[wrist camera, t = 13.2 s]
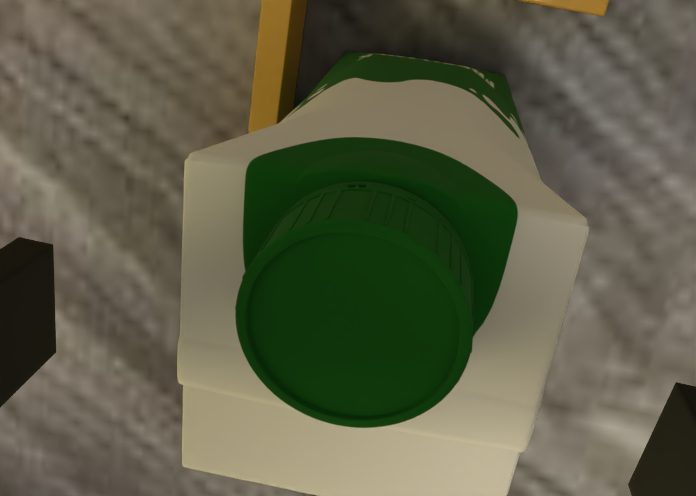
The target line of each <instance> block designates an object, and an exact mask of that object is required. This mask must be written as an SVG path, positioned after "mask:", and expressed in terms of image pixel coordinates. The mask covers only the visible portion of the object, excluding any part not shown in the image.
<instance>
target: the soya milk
mask: <svg viewBox="0 0 696 496" xmlns="http://www.w3.org/2000/svg"><path fill="white" fill-rule="evenodd" d="M588 233H589V227H588V225H587V219H586V218H585V217H584V216H583V215H581V214H580V213H579V212H578V211H577V210H575V209H574V208H573V207H572V206H570V205H569V204H568V203H567V202H566V201H564V200H563V199H562V198H561V197H559V196H558V195H557V194H556V193H555V192H553V191H552V190H551V189H550V188H549V187H548V186H546V185H545V184H544V183H543V182H542V181H541V178H540V176H539V173H538V170H537V168H536V165H535V162H534V159H533V157H532V154H531V151H530V149H529V146H528V143H527V140H526V138H525V135H524V131H523V128H522V125H521V122H520V119H519V116H518V113H517V110H516V108H515V105H514V102H513V99H512V96H511V93H510V90H509V87H508V84H507V80H506V77H505V75H504V74H499V73H494V72H489V71H485V70H480V69H476V68H471V67H466V66H461V65H455V64H449V63H443V62H437V61H431V60H425V59H418V58H410V57H403V56H394V55H387V54H377V53H363V52H349V51H346V52H345V53H344V54H343V56H342V57H341V58H340V59H339V60H338V61H337V63H336V64H335V65H334V66H333V67H332V68H331V70H330V71H329V72H328V73H327V74H326V75H325V77H324V78H323V79H322V80H321V81H320V82H319V84H318V85H317V86H316V87H315V88H314V89H313V91H312V92H311V93H310V94H309V96H308V97H307V98H305V99H304V100H303V101H302V102H301V103H300V104H299V105H298V106H297V107H296V108H295V109H294V110H293V111H292V112H291V113H289V114H288V115H287V116H286V117H285V118H284V119H283V120H282V121H281V122H280V123H278V124H275V125H272V126H269V127H266V128H263V129H260V130H257V131H255V132H252V133H249V134H246V135H243V136H240V137H237V138H234V139H231V140H228V141H225V142H222V143H219V144H216V145H213V146H210V147H207V148H204V149H201V150H198V151H195V152H192V153H190V154H189V157H188V158H187V159H186V160H185V165H184V199H183V234H182V271H181V309H180V337H179V341H178V351H177V378H178V382H179V383H180V384H182V385H183V424H182V466H183V467H186V468H190V469H195V470H199V471H204V472H209V473H213V474H218V475H223V476H228V477H232V478H237V479H242V480H247V481H251V482H256V483H261V484H265V485H270V486H275V487H280V488H284V489H289V490H294V491H299V492H303V493H308V494H313V495H318V496H507V494H508V491H509V488H510V484H511V481H512V478H513V475H514V471H515V468H516V465H517V461H518V458H519V455H520V452H524V451H526V449H527V447H528V445H529V442H530V439H531V436H532V433H533V430H534V426H535V423H536V420H537V416H538V413H539V409H540V406H541V402H542V396H543V391H544V385H545V382H546V379H547V376H548V372H549V369H550V366H551V362H552V359H553V355H554V352H555V348H556V345H557V341H558V338H559V334H560V331H561V328H562V324H563V321H564V317H565V314H566V310H567V307H568V303H569V300H570V296H571V293H572V289H573V285H574V282H575V278H576V275H577V271H578V268H579V264H580V261H581V257H582V254H583V250H584V247H585V243H586V240H587V237H588Z"/></svg>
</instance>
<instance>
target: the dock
mask: <svg viewBox="0 0 696 496" xmlns="http://www.w3.org/2000/svg"><path fill="white" fill-rule="evenodd" d="M517 1H522V2H527V3H533V4H538V5H543V6H549V7H554V8H559V9H564V10H570V11H575V12H580V13H586V14H591V15H596V16H604V14H605V12H606V9H607V5H608V2H609V0H517ZM306 7H307V0H262V3H261V13H260V23H259V33H258V42H257V52H256V62H255V72H254V81H253V91H252V101H251V111H250V120H249V130H248V134H249V133H252V132H255V131H257V130H260V129H263V128H266V127H269V126H272V125H275V124H278V123H280V122H281V121H282V120H283V119H284V118H285V117H286V116H287V115H288V114H289V113H291V112H292V111H293V107H294V99H295V91H296V84H297V76H298V68H299V61H300V53H301V45H302V38H303V30H304V23H305V15H306Z"/></svg>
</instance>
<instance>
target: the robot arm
mask: <svg viewBox="0 0 696 496" xmlns="http://www.w3.org/2000/svg"><path fill="white" fill-rule="evenodd" d="M55 353H56V330H55V294H54V258H53V245H52V244H48V243H43V242H39V241H34V240H29V239H25V238H20V237H19V238H17V239H15V240H14V241H12V242H11V243H9V244H8V245H6V246H5V247H3V248H1V249H0V407H1V406H2V405H3V404H4V403H5V402H6V401H7V400H8V399H9V398H10V397H11V396H12V395H13V394H14V393H15V392H16V391H17V390H18V389H19V388H20V387H21V386H22V385H23V384H24V383H25V382H26V381H27V380H28V379H29V378H30V377H31V376H32V375H33V374H34V373H35V372H36V371H37V370H38V369H39V368H40V367H41V366H42V365H43V364H45V363H46V362H47V361H48V360H49V359H50V358H51V357H52V356H53V355H54V354H55ZM628 485H629V488H630V491H631V494H632V496H696V387H695V386H690V385H686V384H681V383H677V382H676V383H675V385H674V388H673V390H672V392H671V394H670V396H669V398H668V400H667V403H666V405H665V407H664V409H663V411H662V413H661V415H660V417H659V420H658V422H657V424H656V426H655V428H654V430H653V432H652V435H651V437H650V439H649V441H648V443H647V445H646V447H645V450H644V452H643V454H642V456H641V458H640V460H639V462H638V464H637V467H636V469H635V471H634V473H633V475H632V477H631V479H630V482H629V484H628Z"/></svg>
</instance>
